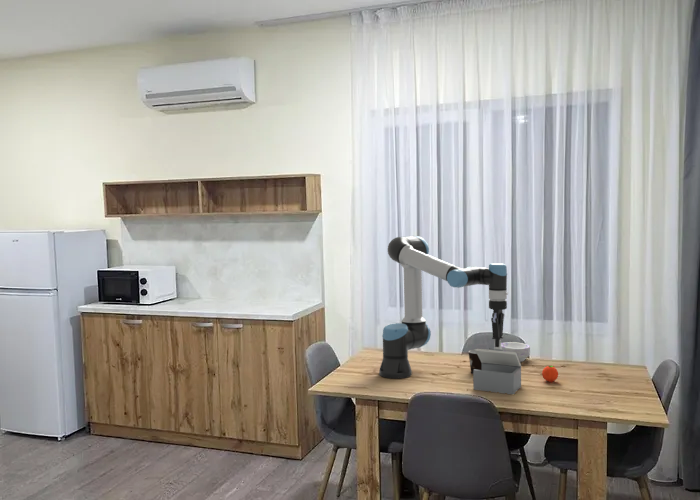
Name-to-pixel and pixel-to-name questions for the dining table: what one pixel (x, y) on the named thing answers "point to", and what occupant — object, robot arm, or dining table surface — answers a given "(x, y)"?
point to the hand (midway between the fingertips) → (497, 353)
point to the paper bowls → (517, 349)
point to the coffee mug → (474, 361)
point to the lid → (498, 357)
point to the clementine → (550, 373)
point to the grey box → (497, 378)
